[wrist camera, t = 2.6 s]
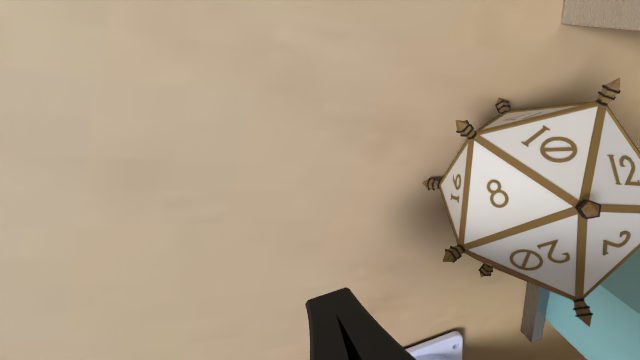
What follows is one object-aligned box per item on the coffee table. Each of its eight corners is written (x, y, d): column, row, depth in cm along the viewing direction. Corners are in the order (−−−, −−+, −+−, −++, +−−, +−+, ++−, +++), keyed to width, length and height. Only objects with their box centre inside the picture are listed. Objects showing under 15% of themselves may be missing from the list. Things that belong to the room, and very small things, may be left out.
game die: (439, 163, 23) (488, 341, 18) (370, 98, 16) (420, 346, 12) (614, 97, 18) (736, 311, 14) (612, -28, 12) (838, 294, 7)
